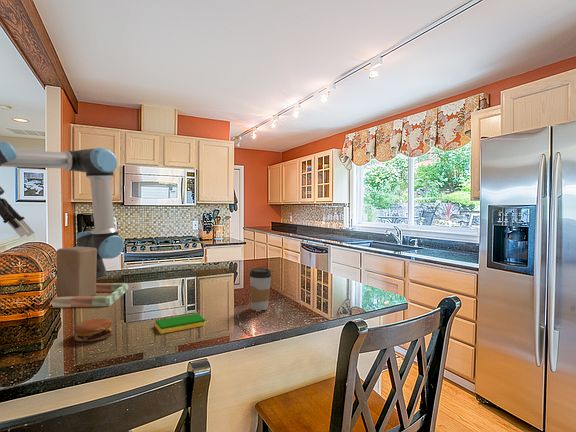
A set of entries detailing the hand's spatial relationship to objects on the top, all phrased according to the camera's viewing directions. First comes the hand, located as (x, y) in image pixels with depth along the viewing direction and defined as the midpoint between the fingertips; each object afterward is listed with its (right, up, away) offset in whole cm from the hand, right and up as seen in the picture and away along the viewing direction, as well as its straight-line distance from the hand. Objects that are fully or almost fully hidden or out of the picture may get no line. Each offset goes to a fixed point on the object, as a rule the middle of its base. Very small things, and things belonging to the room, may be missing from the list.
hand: (28, 234), depth 124 cm
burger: (+43, -28, -31) cm, 60 cm away
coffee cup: (+88, -29, 0) cm, 93 cm away
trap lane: (+21, -26, +7) cm, 34 cm away
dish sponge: (+65, -29, -20) cm, 74 cm away
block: (+15, -26, +5) cm, 30 cm away
